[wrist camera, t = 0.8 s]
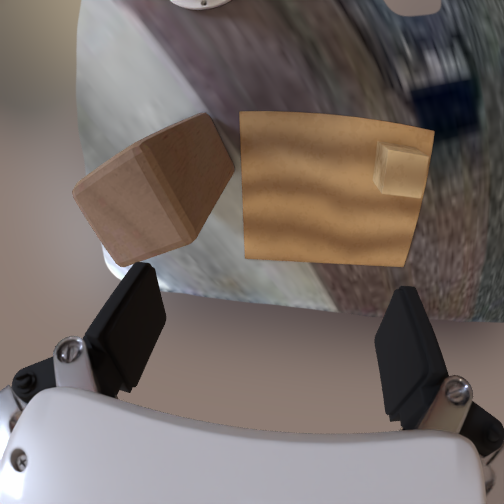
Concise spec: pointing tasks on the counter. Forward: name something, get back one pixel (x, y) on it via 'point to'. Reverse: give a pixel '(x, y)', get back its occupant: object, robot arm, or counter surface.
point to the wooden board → (323, 189)
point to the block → (156, 190)
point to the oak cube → (399, 170)
